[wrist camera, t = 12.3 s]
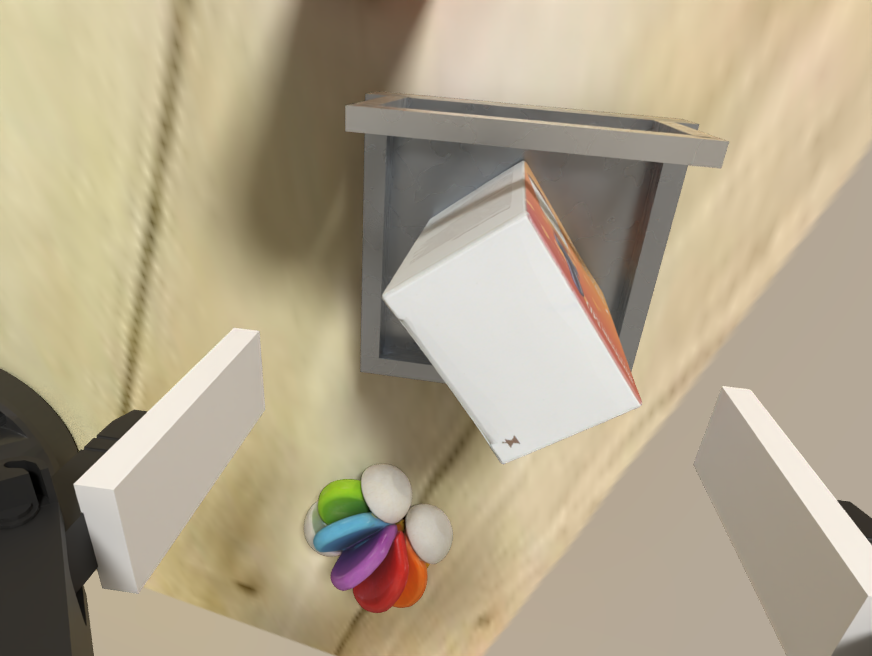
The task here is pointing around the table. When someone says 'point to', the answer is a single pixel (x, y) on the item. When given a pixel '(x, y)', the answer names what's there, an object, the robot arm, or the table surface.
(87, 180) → the table surface
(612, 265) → the grey storage bin
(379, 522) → the rainbow segmented toy
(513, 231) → the small box
